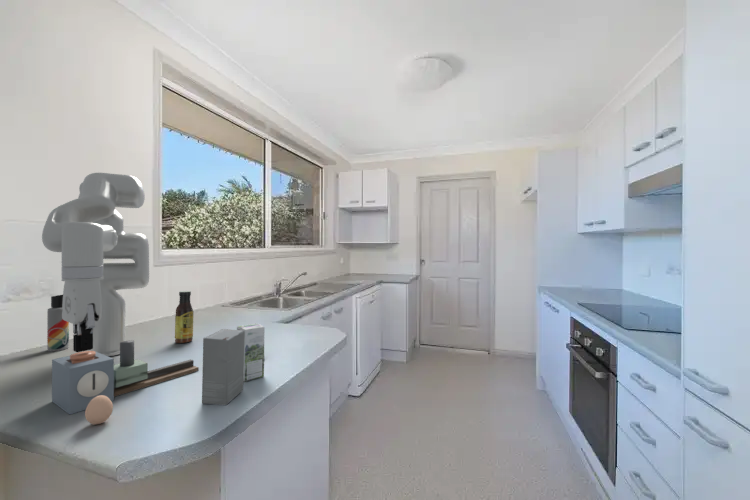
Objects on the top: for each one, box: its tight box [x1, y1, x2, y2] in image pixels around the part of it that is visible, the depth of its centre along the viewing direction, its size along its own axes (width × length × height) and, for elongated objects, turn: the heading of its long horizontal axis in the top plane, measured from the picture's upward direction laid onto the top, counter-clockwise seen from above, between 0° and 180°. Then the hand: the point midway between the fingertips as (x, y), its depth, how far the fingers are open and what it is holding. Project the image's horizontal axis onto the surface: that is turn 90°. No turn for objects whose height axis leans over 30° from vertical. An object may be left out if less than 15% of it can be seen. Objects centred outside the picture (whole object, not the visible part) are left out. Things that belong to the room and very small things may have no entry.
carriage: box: [114, 339, 149, 388], centre depth 87 cm, size 6×7×10 cm
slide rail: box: [114, 359, 199, 397], centre depth 92 cm, size 7×21×3 cm, turn 148°
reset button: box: [69, 350, 96, 364], centre depth 79 cm, size 5×5×5 cm
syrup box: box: [236, 323, 265, 383], centre depth 94 cm, size 6×6×14 cm
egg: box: [84, 395, 114, 425], centre depth 69 cm, size 4×4×6 cm
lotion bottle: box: [46, 294, 70, 352], centre depth 122 cm, size 6×6×20 cm
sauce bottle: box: [174, 290, 194, 344], centre depth 131 cm, size 7×6×20 cm
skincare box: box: [201, 328, 245, 406], centre depth 81 cm, size 8×7×16 cm
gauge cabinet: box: [51, 351, 115, 415], centre depth 79 cm, size 13×8×10 cm, turn 58°
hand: (83, 350), depth 79 cm, fingers closed
